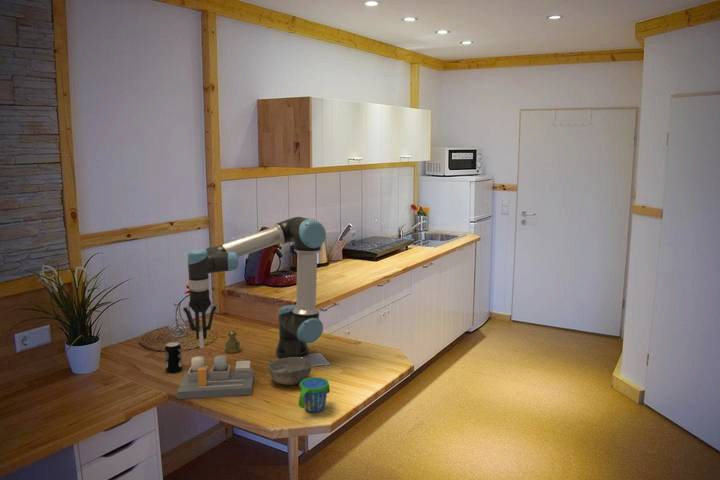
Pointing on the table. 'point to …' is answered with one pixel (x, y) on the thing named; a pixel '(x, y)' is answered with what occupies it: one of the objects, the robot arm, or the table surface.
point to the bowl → (290, 370)
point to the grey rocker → (242, 366)
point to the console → (217, 384)
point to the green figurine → (232, 343)
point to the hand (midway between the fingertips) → (202, 346)
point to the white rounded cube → (197, 363)
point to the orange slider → (202, 376)
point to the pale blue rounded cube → (220, 363)
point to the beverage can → (173, 357)
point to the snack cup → (313, 393)
